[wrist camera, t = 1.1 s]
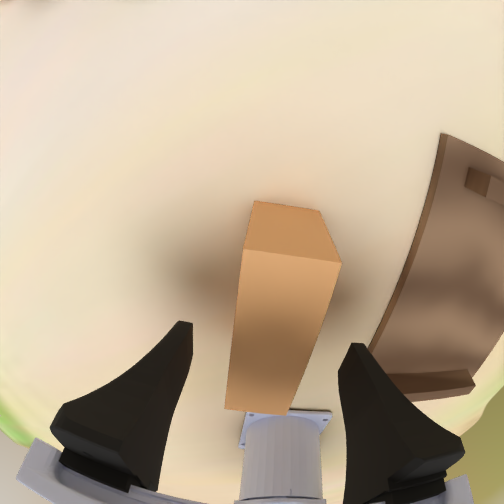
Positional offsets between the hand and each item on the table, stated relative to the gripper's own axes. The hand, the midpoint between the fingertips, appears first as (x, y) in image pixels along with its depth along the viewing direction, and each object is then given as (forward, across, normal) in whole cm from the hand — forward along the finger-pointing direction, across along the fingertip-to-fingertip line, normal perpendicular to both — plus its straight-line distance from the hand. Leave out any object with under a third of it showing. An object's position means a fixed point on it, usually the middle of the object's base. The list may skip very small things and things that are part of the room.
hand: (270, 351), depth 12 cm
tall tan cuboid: (+6, 0, 0) cm, 6 cm away
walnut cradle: (+6, -15, -1) cm, 16 cm away
